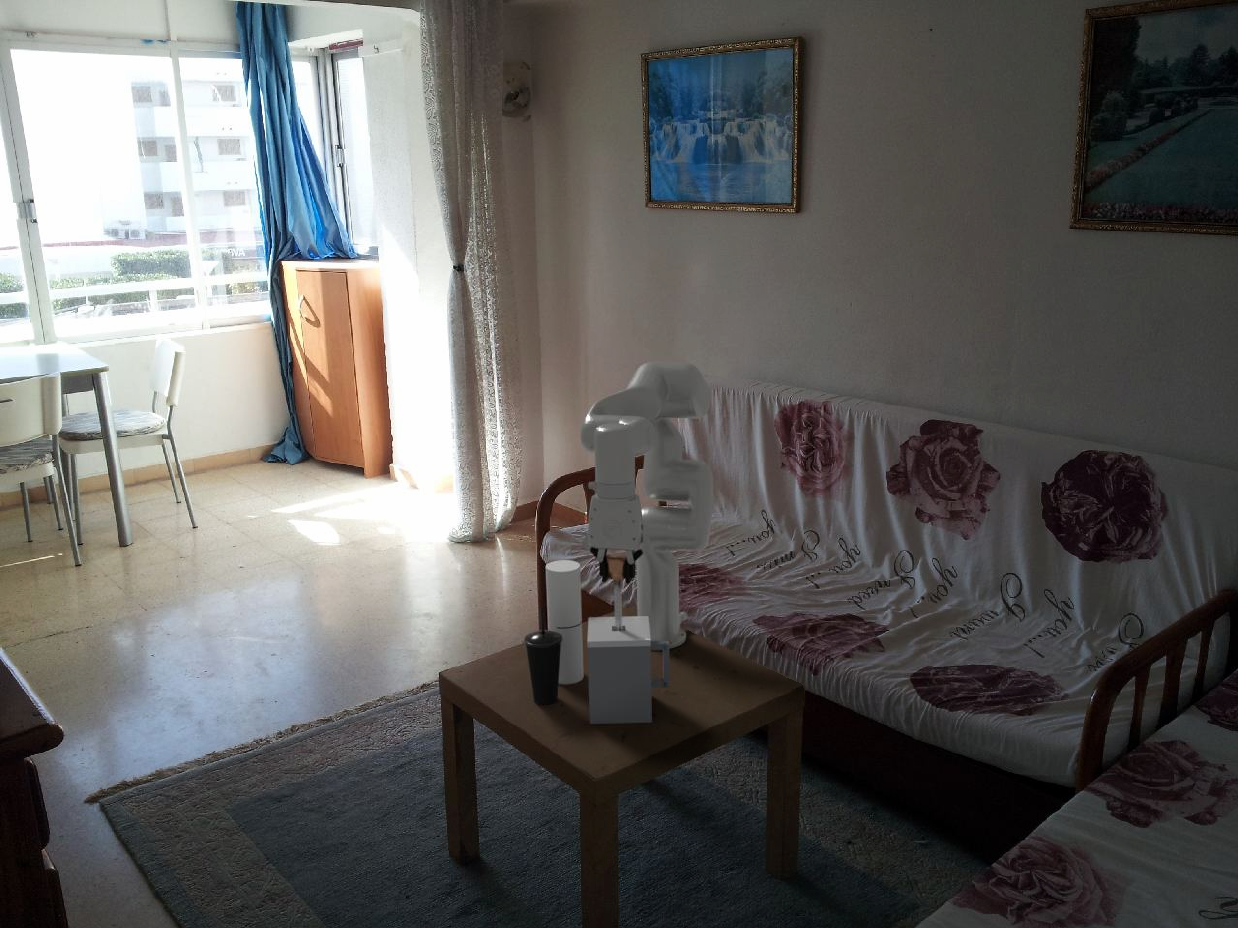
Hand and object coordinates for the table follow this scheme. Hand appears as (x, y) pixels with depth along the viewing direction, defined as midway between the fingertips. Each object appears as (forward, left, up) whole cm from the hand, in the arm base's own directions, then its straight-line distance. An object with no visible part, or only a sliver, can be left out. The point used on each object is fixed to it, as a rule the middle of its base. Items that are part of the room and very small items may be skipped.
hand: (617, 579), depth 206 cm
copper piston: (0, 0, -18) cm, 18 cm away
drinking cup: (+5, -15, -27) cm, 32 cm away
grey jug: (-1, +2, -27) cm, 27 cm away
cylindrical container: (-6, -18, -27) cm, 33 cm away
